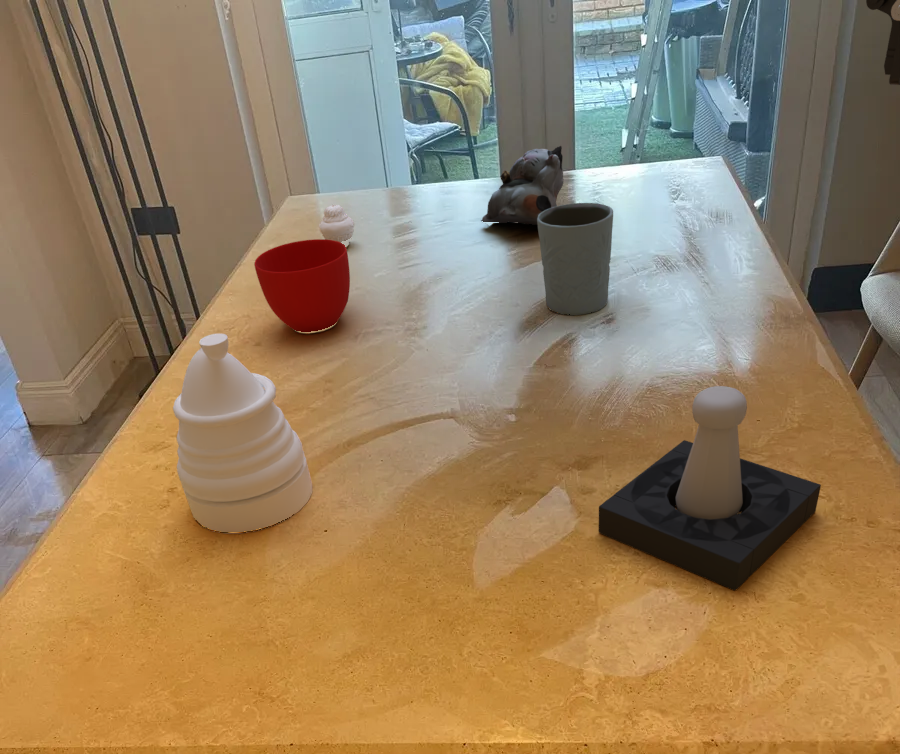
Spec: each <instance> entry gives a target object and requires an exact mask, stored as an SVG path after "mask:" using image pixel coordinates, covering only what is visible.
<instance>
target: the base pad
mask: <svg viewBox="0 0 900 754" xmlns="http://www.w3.org/2000/svg"><path fill="white" fill-rule="evenodd" d="M692 445H693V442H691V441H688V440H686V439H684V440H682V441H681V442H680V443H678V444H677V445H676V446H675V447H673V448H672V449H671V450H669V451H668V452H666V454H664V455H662V456H661V457H660V458H659V459H658V460H657V461H655V462H654V463H653V464H651V465H650V466H649V467H648V468H645V470H643V471H642V472H641V473H640V474H639V475H637V476H636V477H635V478H633V479H632V480H631V481H629V482H628V483H627V484H626V485H624V486H623V487H622V488H621V489H618V491H616V492H614V494H613V495H611V497H608V499H606V500H605V501H604V502H602V503H601V504H599V506H598V533H599V534H601V535H603V536H604V537H605V536H606V537H608V538H610V539H612V540H614V541H617V542H620V543H621V544H624V545H627V546H629V547H631V548H634V549H636V550H638V551H640V552H643V553H645V554H648V555H650V556H652V557H654V558H657V559H660V560H662V561H664V562H666V563H669V564H670V565H673V566H676V567H678V568H681V569H683V570H685V571H687V572H690V573H692V574H695V575H697V576H699V577H701V578H704V579H706V580H709V581H711V582H713V583H715V582H716V584H718V585H720V584H721V585H720V586H723V587H724V588H727V587H728V588H727V589H730V590H732V589H733V590H732V591H734V590H736V589H737V590H738V589H739V588H740V587H741V586H742V585H743V584H744V583H745V582H746V581H747V580H748V579H749V578H750V577H752V575H754V574H755V572H756V571H758V569H759V568H760V567H761V566H762V565H763V564H765V562H766V561H767V560H768V559H769V558H771V556H773V554H774V553H775V552H776V551H778V549H780V548H781V547H782V546H783V545H784V544H785V543H786V542H787V541H788V539H790V537H792V536H793V535H794V534H795V532H797V531H798V529H800V528H801V527H802V526H803V525H804V524H805V523H806V522H807V521H808V520H809V519H810V518H811V517H812V516H813V515H814V514H815V513H816V511H817V507H818V501H819V497H820V492H821V488H822V484H821V483H817V482H815V481H811V480H808V479H805V478H803V477H798V476H796V475H792V474H790V473H787V472H783V471H781V470H778V469H774V468H772V467H768V466H765V465H762V464H759V463H756V462H753V461H750V460H747V459H744V458H741V457H740V468H741V484H742V499H743V504H742V507H741V509H740V511H739V513H738V514H737V515H734V516H732V517H729V518H722V519H712V520H710V519H702V518H695V517H692V516H689V515H687V514H684V513H681V512H679V511H678V510H677V508H676V507H677V505H676V498H675V497H676V494H677V491H678V488H679V485H680V482H681V479H682V476H683V473H684V470H685V467H686V464H687V461H688V458H689V454H690V451H691V448H692ZM737 590H736V591H737Z"/></svg>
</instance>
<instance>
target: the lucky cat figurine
mask: <svg viewBox="0 0 900 754" xmlns="http://www.w3.org/2000/svg"><path fill="white" fill-rule="evenodd" d="M562 148H563V146H562V145H559V146H557V147H555V148H554V149H553V150H550V149H548V148H533V149H531V150H530V149H529V150H527V151H526V152H525V153H524V154H523V155H522V156H521V157H519V158H518V159H516V160H515V162H514V163H513V164H512V166H511V167H510V169H509V171H508V170H503V172H502V173H501V174H500V177H499V178H500V180H501V182H502V184H501V185H500V186H499V188H498V189H497V190H495V191H494V192H493V193H492V194H491V196H490V198H489V201H488V203H487V211H486V214H485V215H483V216H482V219H480V222H482V221H483V222H499V223H498V224H508V223H507V222H518V223H525V224H524V225H529V224H532V225H531V226H538V224H537V218H538V215H539V214H540V213H541V212H543V211H545V210H547V209H550V208H553V207H556V206H558V205H557V199H558V195H559V193H560V191H561V189H562V188H563V185H564V181H565V180H564V171H563V154H562ZM483 222H482V223H483ZM518 223H517V224H518Z"/></svg>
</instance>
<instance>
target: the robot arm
mask: <svg viewBox="0 0 900 754" xmlns="http://www.w3.org/2000/svg"><path fill="white" fill-rule="evenodd" d="M866 7H867V8H868V9H870V10H872V11H874V10H877V11H880V12H882V13H884V14H886V15H888V16H889V18H890V21H891V28H890V33H889V37H888V43H887V48H886V49H887V50H886V53H885V59H884V64H883V69H884V75H885V76H888V75H889V79H888V83H889V85H891V86H892V85H894V86H900V0H866Z"/></svg>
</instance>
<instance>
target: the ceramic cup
mask: <svg viewBox="0 0 900 754" xmlns="http://www.w3.org/2000/svg"><path fill="white" fill-rule="evenodd" d="M254 270H255V273H256V277H257V280H258V282H259V286H260V288H261V291H262V294H263V296H264V299H265V301H266V303H267V305H268V306H269V308H270V309H271V311H272V312H273V313H274V315H275V316H276V317H277V318H278V319H279V320H280V321H281V322H282V323H283V324H284V325H285V326H287V327H288V328H290V329H292V330H293V329H294V330H296V331H301V332H311V331H318V330H322V329H325V328H328V327H330V326H332V325H334V324H335V323H336V322H337V321H339V320H340V318H341V317H342V315H343V313H344V311H345V309H346V308H347V307H346V306H347V305H348V300H349V297H350V289H351V288H350V287H351V275H350V272H351V271H350V263H349V254H348V249H347V248H346V247H345V245H344V244H342V243H341V242H338V241H334V240H326V239H325V238H324V239H321V238H318V239H315V238H314V239H303V240H298V241H293V242H288V243H283V244H281V245H278V246H275V247H272V248H270V249H268V250H266V251H264V252H262V253H261V254H259V255H258V256H257V257H256V258H255V260H254ZM294 330H293V331H294Z"/></svg>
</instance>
